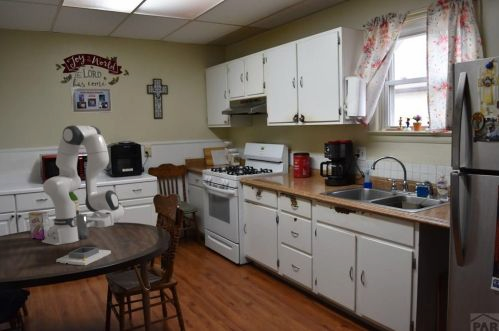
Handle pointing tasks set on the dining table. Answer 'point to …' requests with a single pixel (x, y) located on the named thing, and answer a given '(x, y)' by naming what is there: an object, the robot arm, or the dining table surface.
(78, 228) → the battery cell
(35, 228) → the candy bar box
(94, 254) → the white board with tray
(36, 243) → the dining table surface
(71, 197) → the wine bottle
